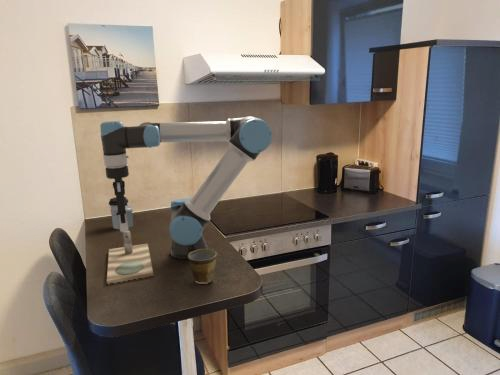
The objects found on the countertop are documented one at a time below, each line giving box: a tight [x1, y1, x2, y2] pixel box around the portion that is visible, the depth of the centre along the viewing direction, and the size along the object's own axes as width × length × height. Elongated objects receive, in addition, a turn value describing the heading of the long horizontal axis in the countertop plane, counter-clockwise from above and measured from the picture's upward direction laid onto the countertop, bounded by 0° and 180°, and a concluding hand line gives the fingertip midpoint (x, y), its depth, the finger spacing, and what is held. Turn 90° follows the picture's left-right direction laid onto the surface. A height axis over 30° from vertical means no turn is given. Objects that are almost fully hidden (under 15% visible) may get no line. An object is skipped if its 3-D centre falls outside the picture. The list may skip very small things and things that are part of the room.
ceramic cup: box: [187, 248, 217, 282], centre depth 136 cm, size 13×10×10 cm
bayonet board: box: [106, 230, 154, 285], centre depth 151 cm, size 30×16×10 cm, turn 18°
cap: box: [110, 205, 134, 230], centre depth 139 cm, size 7×7×7 cm
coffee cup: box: [108, 196, 129, 210], centre depth 193 cm, size 9×9×15 cm
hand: (124, 227), depth 140 cm, fingers closed on cap, 7 cm apart
